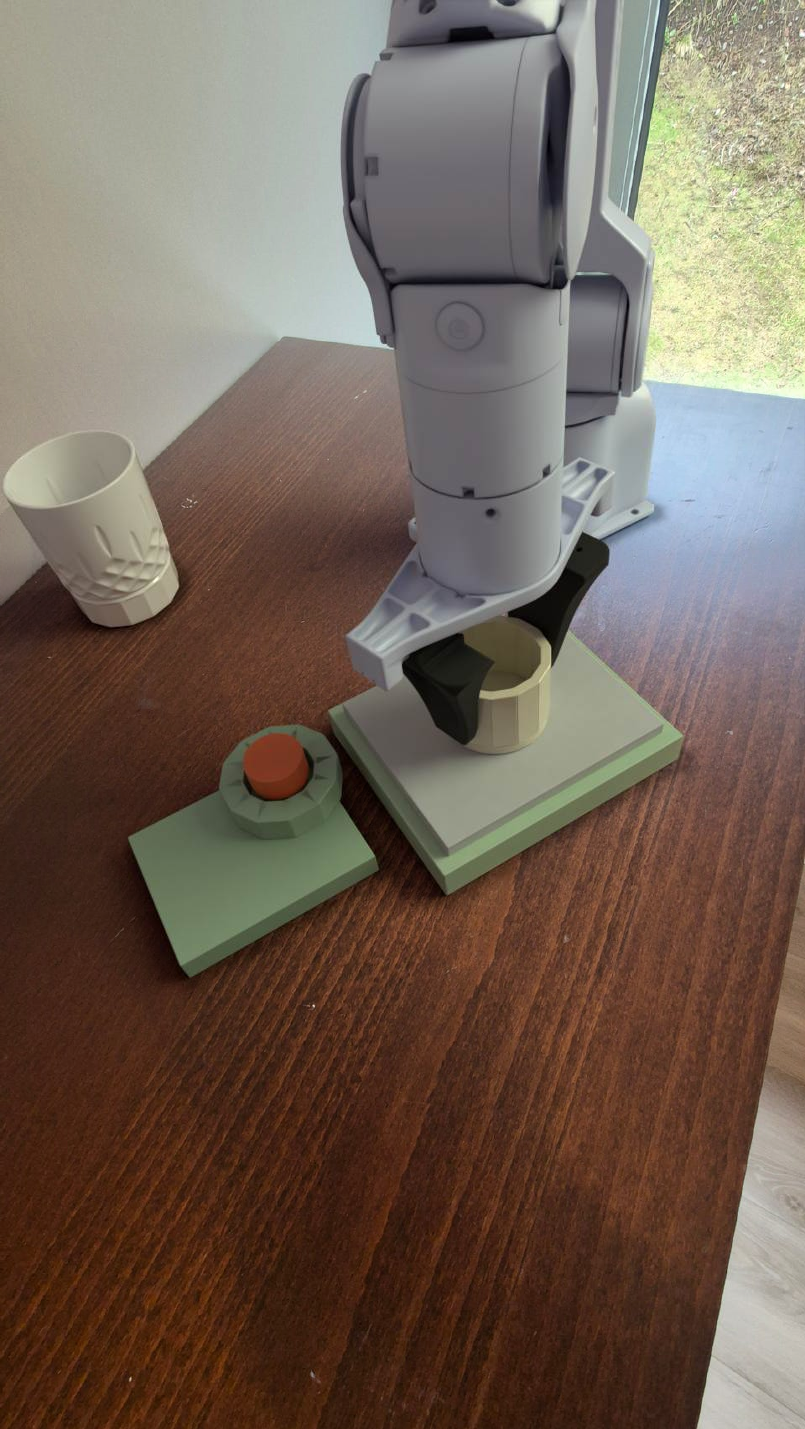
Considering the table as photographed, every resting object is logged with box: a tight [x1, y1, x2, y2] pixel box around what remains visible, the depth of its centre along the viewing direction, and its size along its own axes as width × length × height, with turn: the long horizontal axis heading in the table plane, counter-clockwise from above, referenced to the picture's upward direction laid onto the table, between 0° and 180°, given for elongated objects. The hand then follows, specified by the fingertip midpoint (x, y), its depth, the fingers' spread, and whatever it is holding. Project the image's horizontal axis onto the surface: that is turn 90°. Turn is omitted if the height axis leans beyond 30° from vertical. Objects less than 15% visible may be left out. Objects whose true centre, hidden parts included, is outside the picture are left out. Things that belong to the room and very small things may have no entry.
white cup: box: [1, 429, 180, 628], centre depth 52 cm, size 8×8×10 cm
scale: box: [327, 630, 684, 896], centre depth 43 cm, size 14×12×3 cm
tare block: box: [127, 724, 380, 978], centre depth 40 cm, size 11×9×3 cm
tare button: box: [243, 733, 309, 800], centre depth 40 cm, size 3×3×2 cm
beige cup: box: [454, 615, 551, 754], centre depth 40 cm, size 5×6×4 cm
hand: (495, 694), depth 40 cm, fingers closed on beige cup, 5 cm apart
